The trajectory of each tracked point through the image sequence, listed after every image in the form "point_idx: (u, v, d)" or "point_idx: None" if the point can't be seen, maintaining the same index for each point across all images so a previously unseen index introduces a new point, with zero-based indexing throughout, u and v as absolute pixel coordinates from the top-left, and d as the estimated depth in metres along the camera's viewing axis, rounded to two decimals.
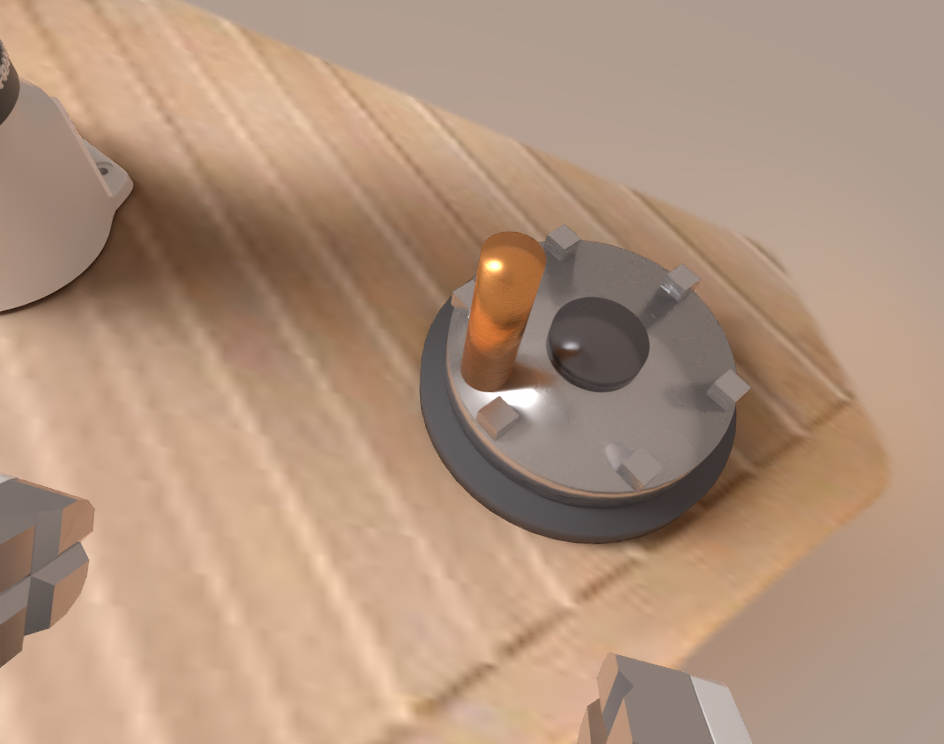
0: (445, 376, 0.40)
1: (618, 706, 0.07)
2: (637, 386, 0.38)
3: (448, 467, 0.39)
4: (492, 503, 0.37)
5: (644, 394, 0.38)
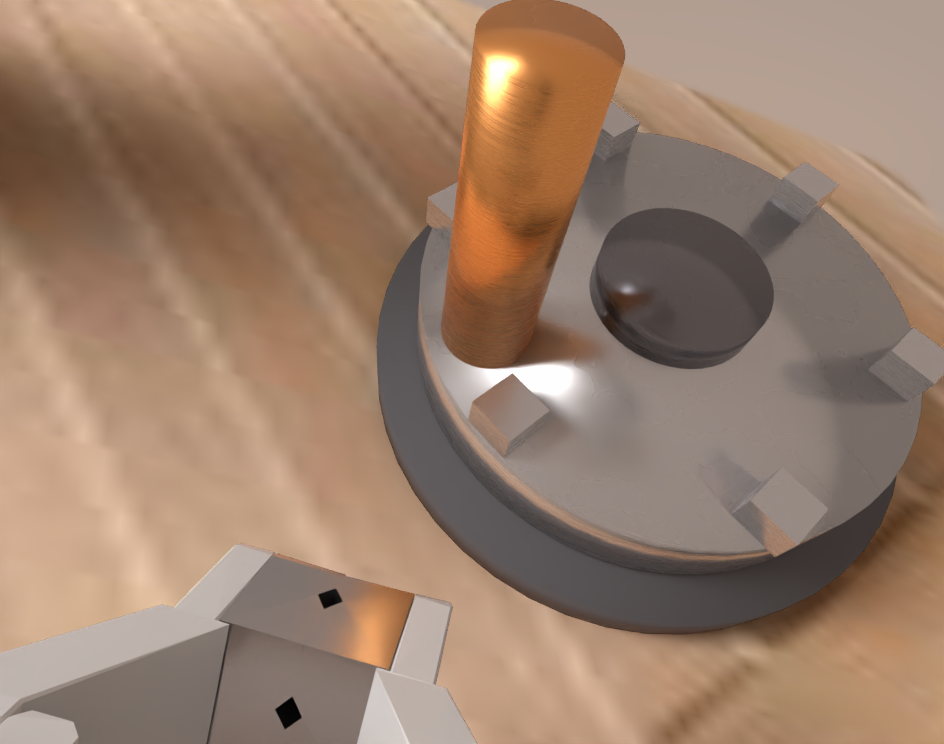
0: (417, 345, 0.23)
1: None
2: (752, 358, 0.22)
3: (422, 500, 0.23)
4: (499, 567, 0.21)
5: (764, 371, 0.21)
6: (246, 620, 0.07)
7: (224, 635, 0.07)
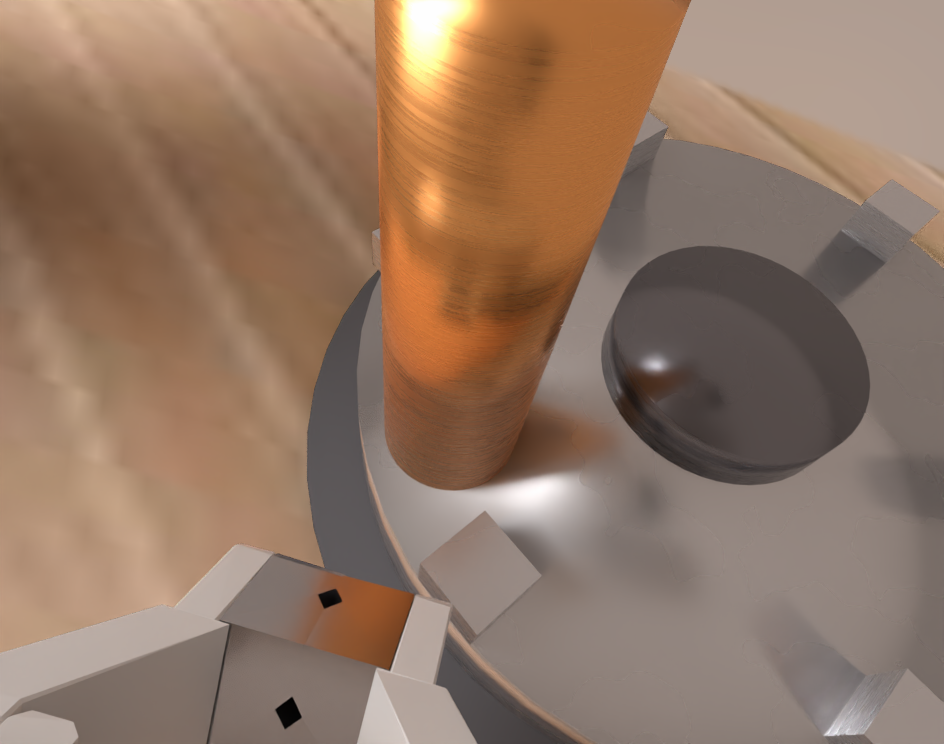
0: None
1: None
2: (836, 466, 0.15)
3: None
4: None
5: (855, 487, 0.15)
6: (246, 620, 0.07)
7: (224, 635, 0.07)
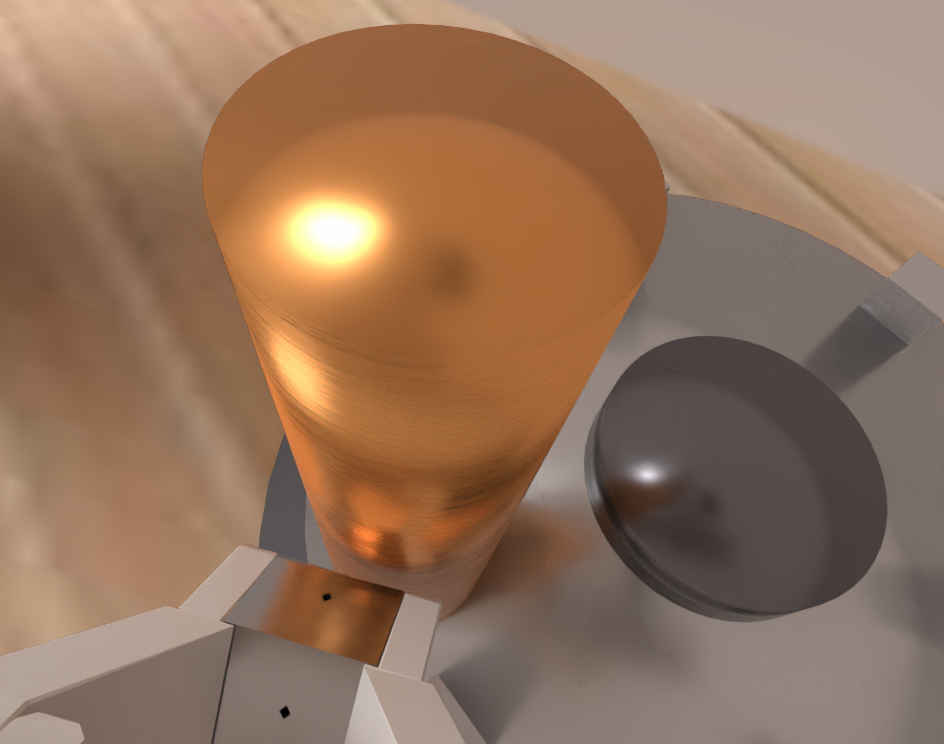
0: None
1: None
2: (845, 599, 0.13)
3: None
4: None
5: (866, 625, 0.13)
6: (250, 621, 0.07)
7: (229, 636, 0.07)
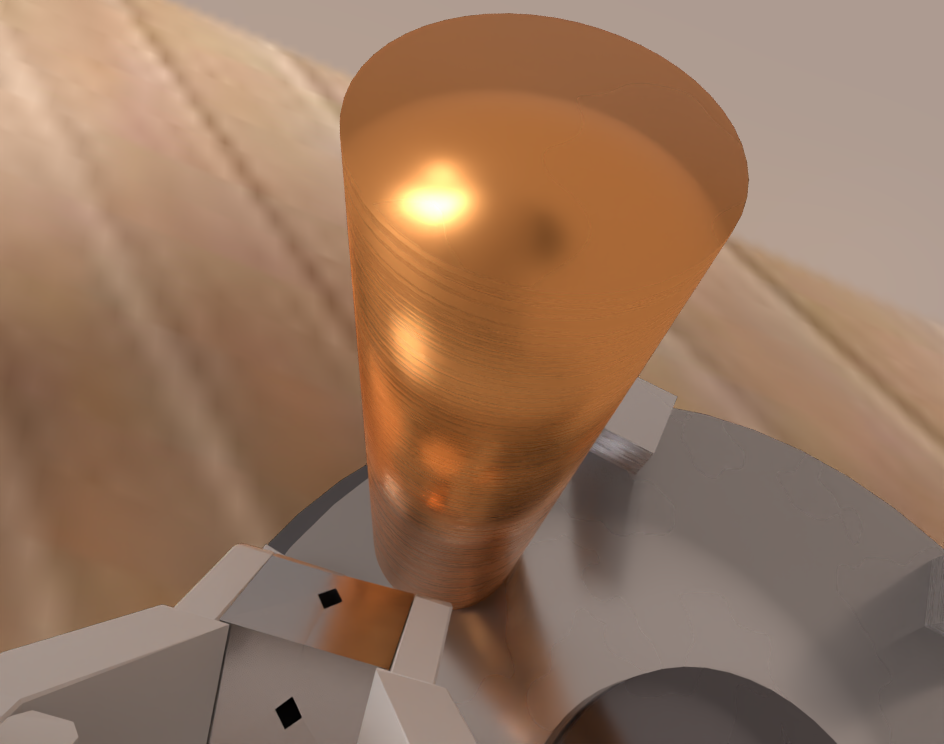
0: None
1: None
2: None
3: None
4: None
5: None
6: (246, 620, 0.07)
7: (224, 635, 0.07)
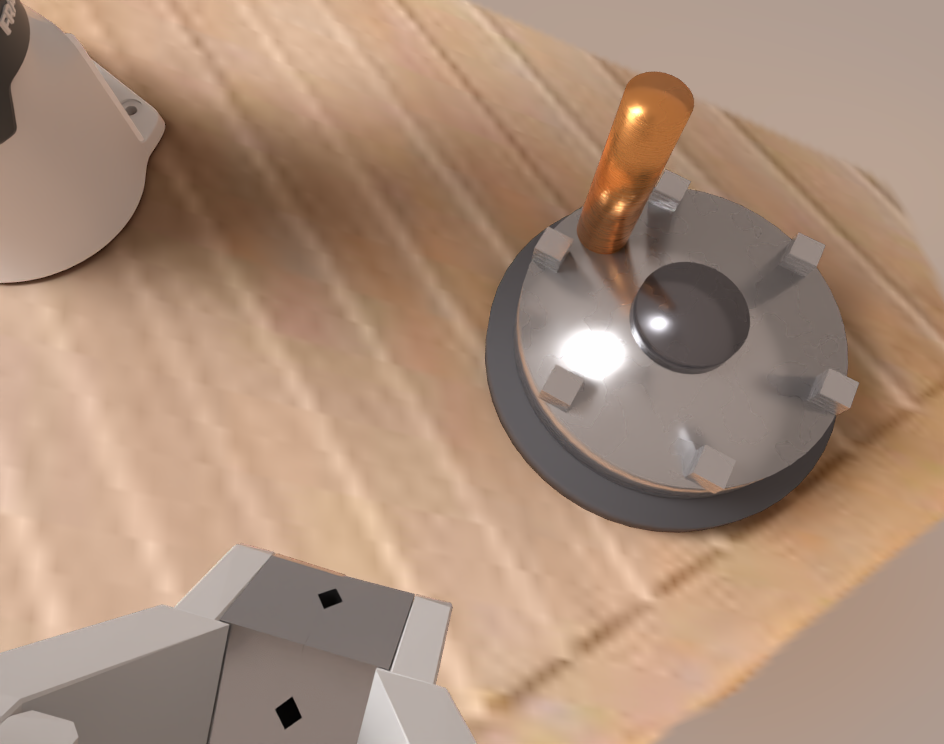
0: None
1: None
2: (663, 375, 0.33)
3: (518, 449, 0.36)
4: (567, 491, 0.35)
5: (657, 384, 0.33)
6: (246, 620, 0.07)
7: (224, 635, 0.07)
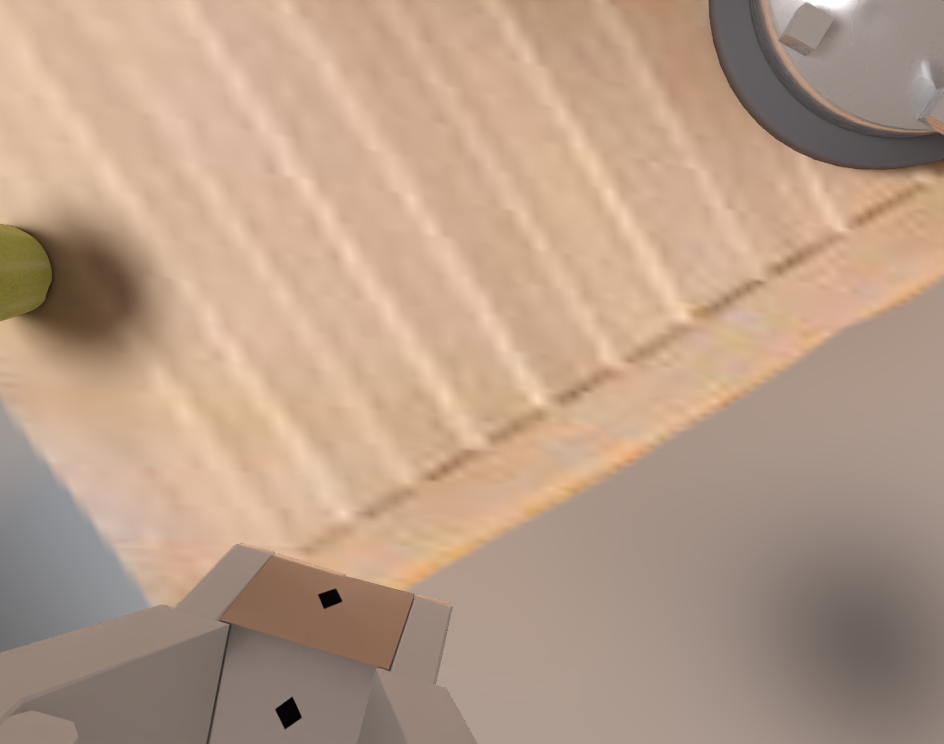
0: None
1: None
2: (920, 4, 0.31)
3: (737, 92, 0.37)
4: (783, 135, 0.37)
5: (911, 15, 0.31)
6: (246, 620, 0.07)
7: (224, 635, 0.07)
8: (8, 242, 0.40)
